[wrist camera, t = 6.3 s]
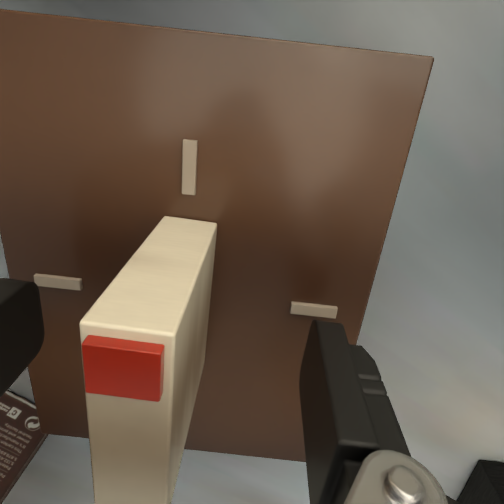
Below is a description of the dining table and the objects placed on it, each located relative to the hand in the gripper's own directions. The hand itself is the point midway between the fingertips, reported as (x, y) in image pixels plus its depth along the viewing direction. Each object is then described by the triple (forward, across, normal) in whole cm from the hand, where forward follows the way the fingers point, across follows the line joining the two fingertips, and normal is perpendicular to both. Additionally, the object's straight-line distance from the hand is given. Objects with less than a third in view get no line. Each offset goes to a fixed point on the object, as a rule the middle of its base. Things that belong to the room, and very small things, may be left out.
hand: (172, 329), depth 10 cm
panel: (+5, 0, 0) cm, 5 cm away
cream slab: (+2, 0, 0) cm, 2 cm away
